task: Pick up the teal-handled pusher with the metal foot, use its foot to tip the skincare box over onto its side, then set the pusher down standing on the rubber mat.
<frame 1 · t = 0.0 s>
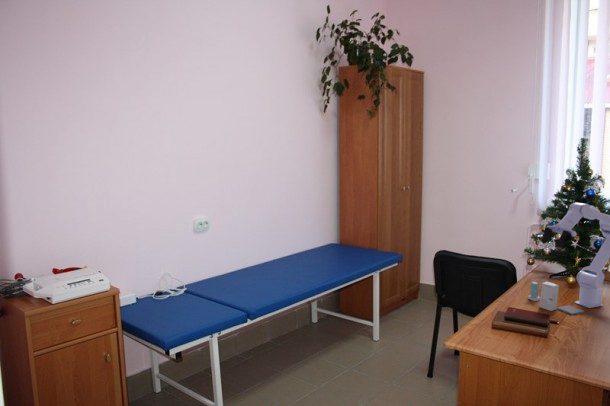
hand: (549, 243, 209), 32 cm above the table, tool tilted 50°, fingers open, 7 cm apart
rubber mat: (570, 310, 215), on the table
pusher tool: (533, 299, 231), on the table
skincare box: (548, 309, 219), on the table
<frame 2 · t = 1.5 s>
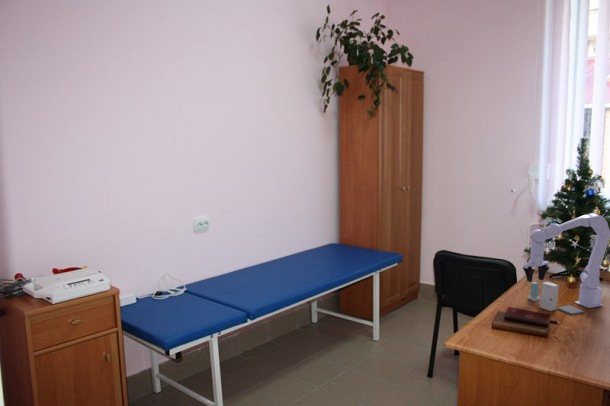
hand: (535, 280, 230), 10 cm above the table, tool pointing down, fingers open, 7 cm apart
nothing on the table moved.
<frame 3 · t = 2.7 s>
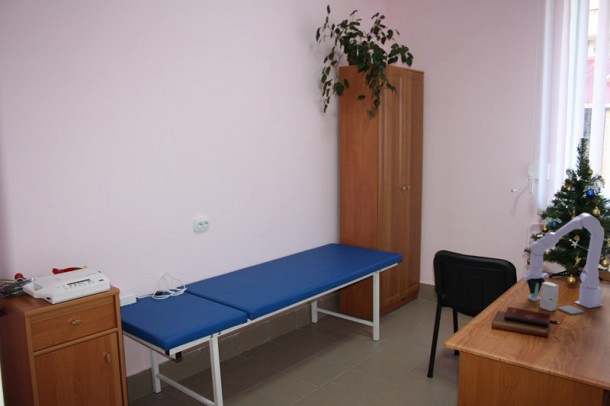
hand: (534, 292, 231), 3 cm above the table, tool pointing down, fingers closed on pusher tool, 2 cm apart
pusher tool: (533, 299, 231), on the table, touching gripper
everything else where it was.
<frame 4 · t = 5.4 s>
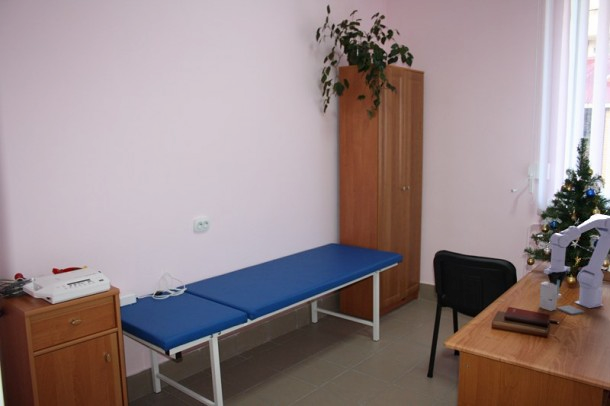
hand: (555, 287, 218), 10 cm above the table, tool pointing down, fingers closed on pusher tool, 2 cm apart
pusher tool: (554, 296, 220), point 5 cm above the table, touching gripper
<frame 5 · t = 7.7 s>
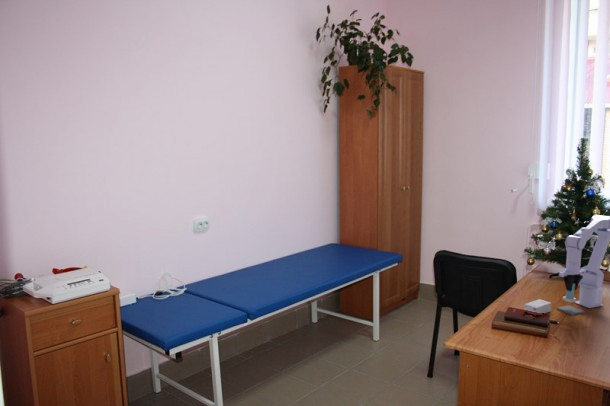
hand: (571, 290, 214), 10 cm above the table, tool pointing down, fingers closed on pusher tool, 2 cm apart
pusher tool: (569, 300, 216), point 5 cm above the table, touching gripper
skincare box: (545, 304, 217), point 2 cm above the table
when the fingers open (5 cm above the table, at t = 8.9 s): pusher tool stays where it is, resting on rubber mat.
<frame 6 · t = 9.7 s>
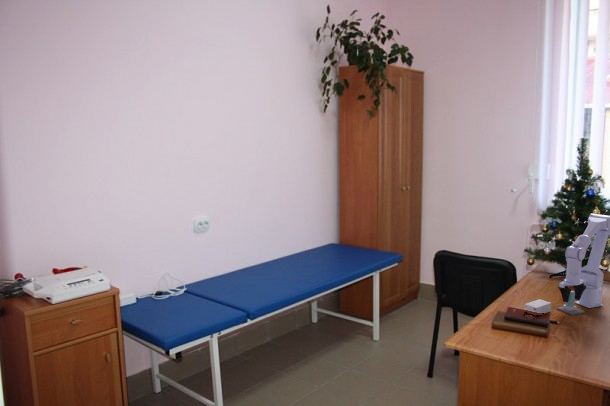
hand: (571, 300, 215), 5 cm above the table, tool pointing down, fingers open, 7 cm apart
pusher tool: (569, 308, 216), point 1 cm above the table, touching rubber mat
everything else where it was.
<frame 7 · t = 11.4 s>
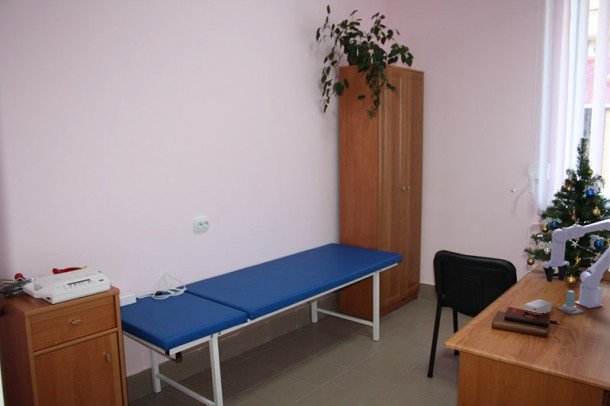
hand: (555, 280, 227), 10 cm above the table, tool pointing down, fingers open, 7 cm apart
nothing on the table moved.
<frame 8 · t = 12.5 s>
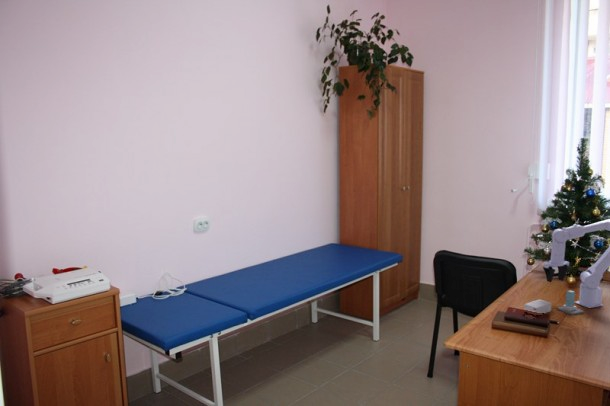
hand: (555, 280, 227), 10 cm above the table, tool pointing down, fingers open, 7 cm apart
nothing on the table moved.
at the end: skincare box tilted 92°; pusher tool inside the target area on the rubber mat (0.6 cm from its centre), point 0.8 cm above the rubber mat's base; the gripper is holding nothing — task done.
